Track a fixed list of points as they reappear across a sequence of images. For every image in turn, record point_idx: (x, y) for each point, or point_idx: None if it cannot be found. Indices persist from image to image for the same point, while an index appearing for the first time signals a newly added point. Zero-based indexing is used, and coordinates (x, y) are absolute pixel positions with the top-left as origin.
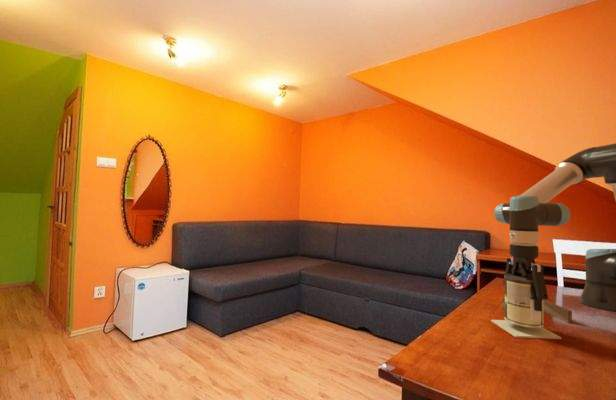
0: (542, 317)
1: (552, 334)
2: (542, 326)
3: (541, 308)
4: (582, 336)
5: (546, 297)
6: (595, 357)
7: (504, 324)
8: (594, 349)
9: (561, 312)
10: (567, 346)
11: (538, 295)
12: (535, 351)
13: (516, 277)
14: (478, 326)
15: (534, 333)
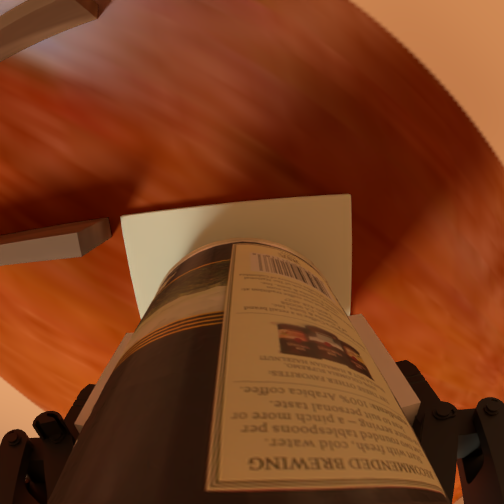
0: (334, 296)
1: (318, 216)
2: (323, 276)
3: (419, 373)
4: (289, 55)
5: (500, 414)
6: (486, 189)
7: None
8: (433, 128)
9: (40, 21)
10: (419, 224)
11: (477, 459)
12: (442, 359)
13: None
14: None
15: None
